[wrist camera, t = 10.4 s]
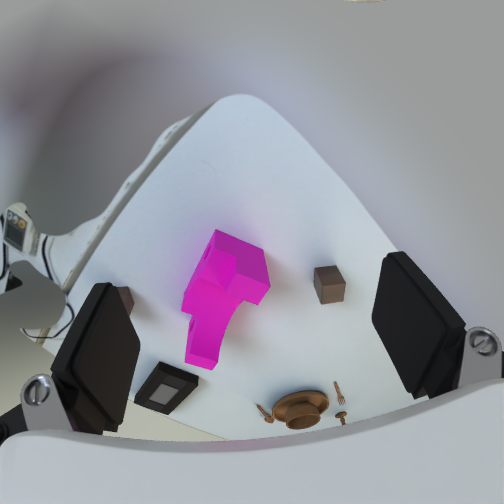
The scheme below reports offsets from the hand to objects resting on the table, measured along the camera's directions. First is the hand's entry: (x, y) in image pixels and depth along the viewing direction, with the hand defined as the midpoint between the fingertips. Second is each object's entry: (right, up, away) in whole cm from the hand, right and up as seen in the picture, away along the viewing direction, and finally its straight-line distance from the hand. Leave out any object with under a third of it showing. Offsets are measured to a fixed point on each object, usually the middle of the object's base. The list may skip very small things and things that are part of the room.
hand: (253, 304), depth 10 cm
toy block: (-5, -3, +28) cm, 29 cm away
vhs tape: (-16, -23, +39) cm, 48 cm away
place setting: (+12, -33, +46) cm, 58 cm away
